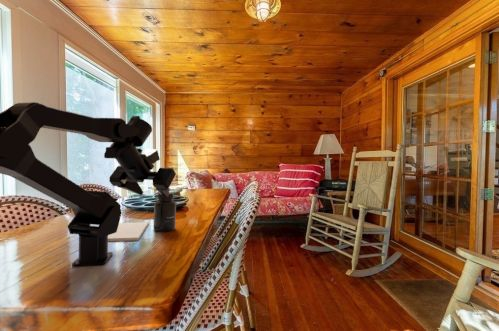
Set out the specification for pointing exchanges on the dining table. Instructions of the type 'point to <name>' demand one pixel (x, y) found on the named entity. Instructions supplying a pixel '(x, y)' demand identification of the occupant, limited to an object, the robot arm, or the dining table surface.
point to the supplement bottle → (164, 213)
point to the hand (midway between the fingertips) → (154, 194)
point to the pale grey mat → (128, 231)
